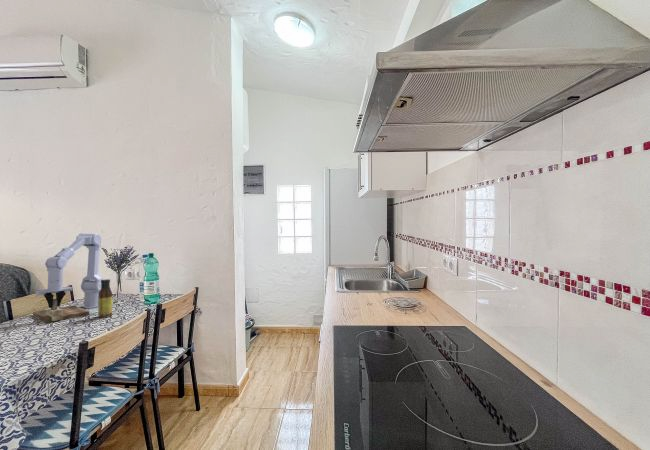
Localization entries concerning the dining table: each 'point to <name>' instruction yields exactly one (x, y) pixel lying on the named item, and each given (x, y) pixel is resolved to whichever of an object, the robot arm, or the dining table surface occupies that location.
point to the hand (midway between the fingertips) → (54, 307)
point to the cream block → (55, 311)
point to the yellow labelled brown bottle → (105, 299)
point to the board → (67, 313)
